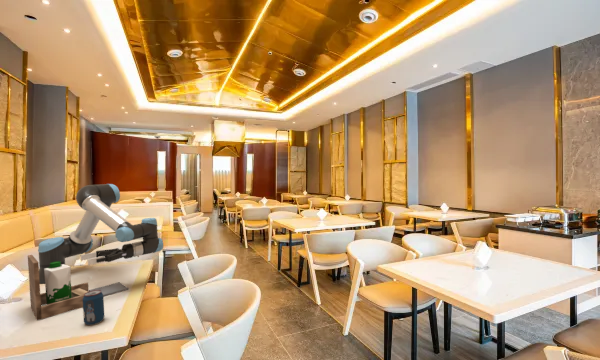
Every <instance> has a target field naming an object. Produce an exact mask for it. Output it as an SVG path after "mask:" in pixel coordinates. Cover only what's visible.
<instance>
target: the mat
mask: <svg viewBox="0 0 600 360" xmlns="http://www.w3.org/2000/svg"><path fill="white" fill-rule="evenodd" d="M88 290H89V291H93V290H101V292H102V293H103V298H104V297H107V296H110V295H114V294H117V293H121V292H124V291H127V290H129V287H128V286H126V285H124V284H123V283H121V282H115V283H110V284H107V285H103V286H100V287H95V288H91V289H88Z"/></svg>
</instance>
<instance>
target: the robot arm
mask: <svg viewBox="0 0 600 360" xmlns="http://www.w3.org/2000/svg"><path fill="white" fill-rule="evenodd" d="M120 199H121V193H120V190H119V187H118V186H117V185H115V184H113V183H106V184H105V183H104V184H103V183H102V184H88V185H84V186H82V187H81V188H80V189H79V190H78V191H77V192H76V195H75V201H76V203H77V205H78V206H79V207H80V208H81V209H82V210H84V211H85V212H84V214H83V216H82V218H81V219H80V221H79V224H78V225H77V227H76V228H75V230H74V231H71V232H70V235H69V236H68V237H65V238H64V237H61V236H58V237H54V238H53V237H51V238H49V239H45V240H42V241H41V242H39V244H38V250H37V251H38V265H39V281H40V284H45V273H44V269H45V268H49V267H50V263H52V262H56V261H61V265H62V264H65V265H67V264H66V258H67V259H68V258H70V257H75V256H78V255H80V261H87V265H88V266H91V265H96V264H100V263H110V262H113V261H116V260H119V259H122V258H124V259H125V260H127V259H131V258H133V257H134V258H136V257H137V258H139V257H140V256H144V255H149V254H155V253H158V252H161V251H162V250H164V242H163V241H164V240H163V239H162V238H161V237H159V236H158V221H157V218H156V217H145V218H142V219H141V223H137V224H132V223H131V222H129V221H128V220H127V219H125V218H124V217H122V216H121V215H120V214H118V212H116V211H115V210H113V208H111V206H112V204H116V203H118V202H119V201H120ZM99 222H102V223H103V224H105V225H106V226H107V227H108V228H110V229H111V230H112V231H113V232H115V238H116V240H117V241H118V242H120V243H125V244H123V245H122V246H121V249H120V248H119V247H117V248H111V249H100V250H96V251H94V252H89V251H90V250H92V247H93V246H94V243H93V242H94V240H93V237H92V234H93V232H94V231H95V229H96V227H97V225H98V223H99ZM141 238H142V241H135V242H134V240H137V239H141ZM130 241H133V242H132V243H130ZM126 242H129V243H126Z"/></svg>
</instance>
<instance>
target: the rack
mask: <svg viewBox="0 0 600 360" xmlns="http://www.w3.org/2000/svg"><path fill="white" fill-rule="evenodd" d="M27 265H28V267H27V268H28V280H29V281H28V283H29V297H30V308H31V310H32V313H33V315H34V316H35V319H36V321H41V320H44V319H47V318H50V317H54V316H57V315H61V314H64V313H67V312H71V311H74V310H77V309H81V308H83V297H84V295H81V296H77V297H73V298H70V299H66V300H62V301H59V302H55V303H51V304H47V301H46V292H43V293H41V286H40V285H41V283H40V281H39V269H40V266H39V260H37V259H36V258H35V257H34V255H33V254H28V255H27ZM78 288H80V289H83V290H85V291H88V292H89V290H90V289H89V282H87V281H86V282H82V283H79V284H75V285H71V291H72V290H75V289H78Z"/></svg>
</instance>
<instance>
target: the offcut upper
mask: <svg viewBox="0 0 600 360" xmlns="http://www.w3.org/2000/svg"><path fill="white" fill-rule="evenodd" d="M87 292H88V291H85V290H83V289H80V288H78V289H75V290H72V297H77V296H81V295H84V294H85V293H87Z"/></svg>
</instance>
